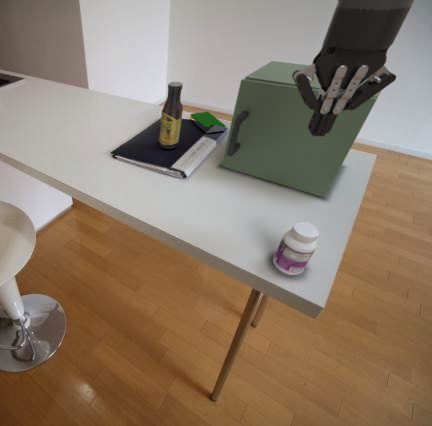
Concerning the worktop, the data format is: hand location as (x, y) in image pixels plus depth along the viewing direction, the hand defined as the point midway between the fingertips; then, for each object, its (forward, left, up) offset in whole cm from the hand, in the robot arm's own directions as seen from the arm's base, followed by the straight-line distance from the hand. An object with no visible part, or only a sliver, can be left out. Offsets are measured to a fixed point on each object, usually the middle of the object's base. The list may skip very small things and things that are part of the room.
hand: (316, 134), depth 47 cm
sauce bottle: (+40, -21, -23) cm, 51 cm away
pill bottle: (-5, +6, -23) cm, 25 cm away
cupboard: (+8, -31, -23) cm, 40 cm away
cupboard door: (+8, -18, -23) cm, 30 cm away
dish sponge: (+38, -43, -23) cm, 62 cm away
